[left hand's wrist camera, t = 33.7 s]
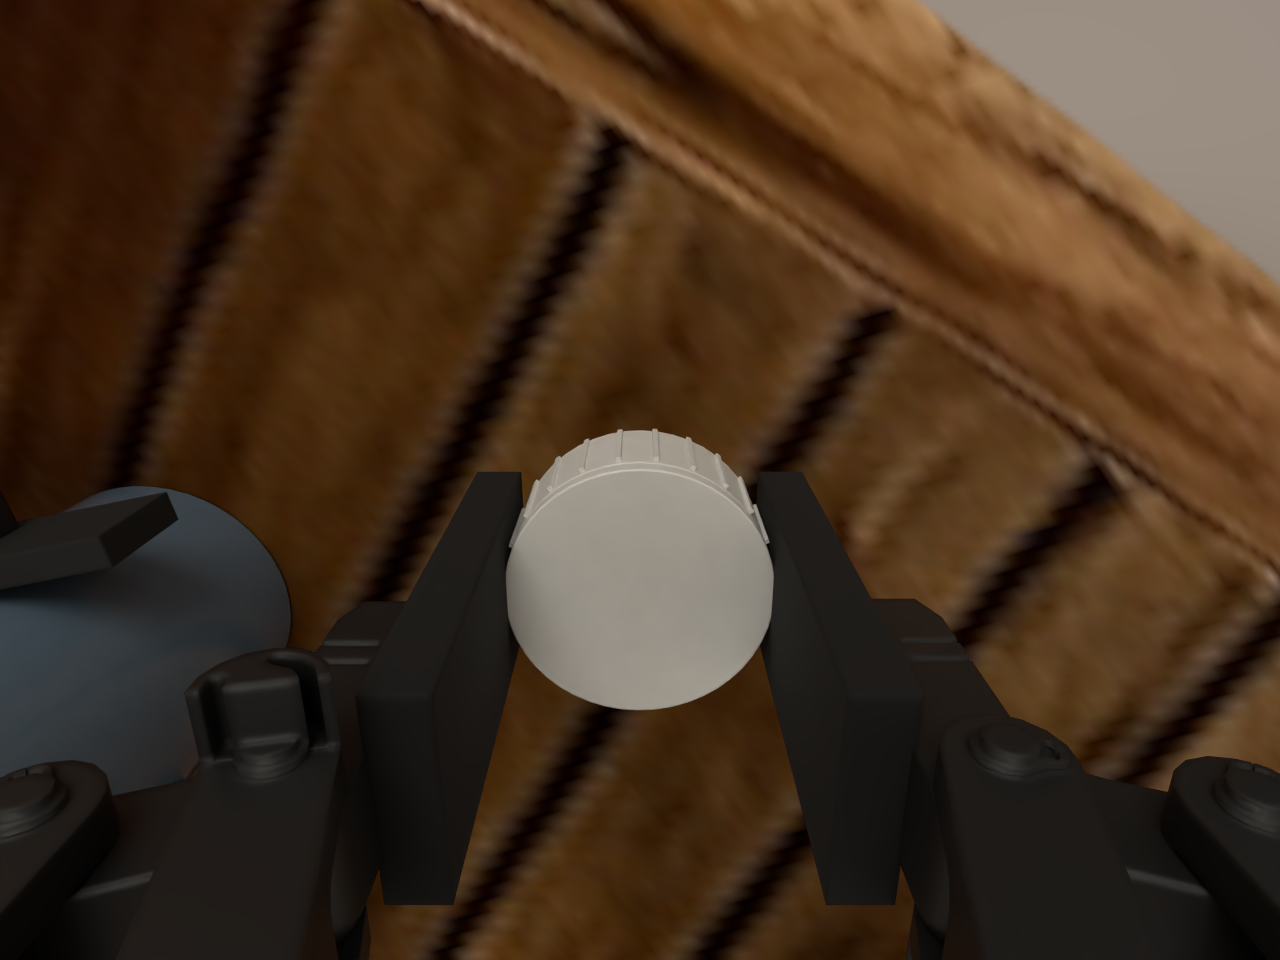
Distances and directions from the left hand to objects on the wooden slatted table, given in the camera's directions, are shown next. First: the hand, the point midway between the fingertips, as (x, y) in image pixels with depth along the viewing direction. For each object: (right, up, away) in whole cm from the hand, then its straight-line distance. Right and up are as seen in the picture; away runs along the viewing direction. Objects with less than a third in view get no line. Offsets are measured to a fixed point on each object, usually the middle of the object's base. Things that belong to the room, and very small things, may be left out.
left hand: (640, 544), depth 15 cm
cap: (0, -1, -2) cm, 2 cm away
